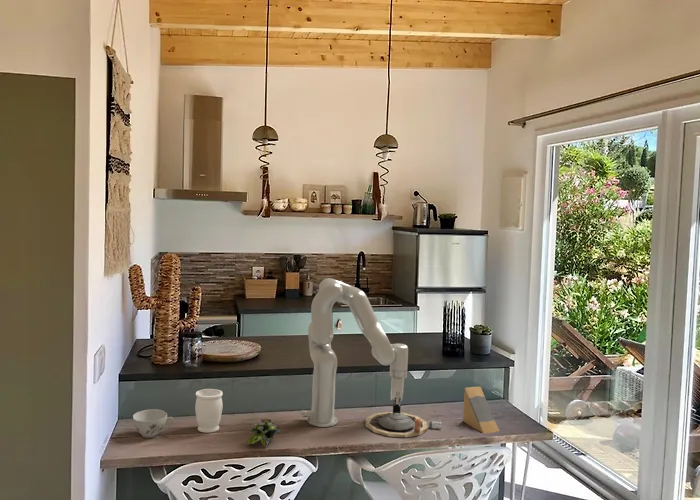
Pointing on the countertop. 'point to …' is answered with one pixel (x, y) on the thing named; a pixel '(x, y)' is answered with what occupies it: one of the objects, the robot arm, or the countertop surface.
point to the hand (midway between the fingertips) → (396, 414)
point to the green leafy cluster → (263, 432)
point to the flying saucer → (396, 421)
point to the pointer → (435, 425)
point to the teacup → (151, 422)
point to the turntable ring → (416, 432)
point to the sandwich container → (478, 411)
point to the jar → (208, 409)
